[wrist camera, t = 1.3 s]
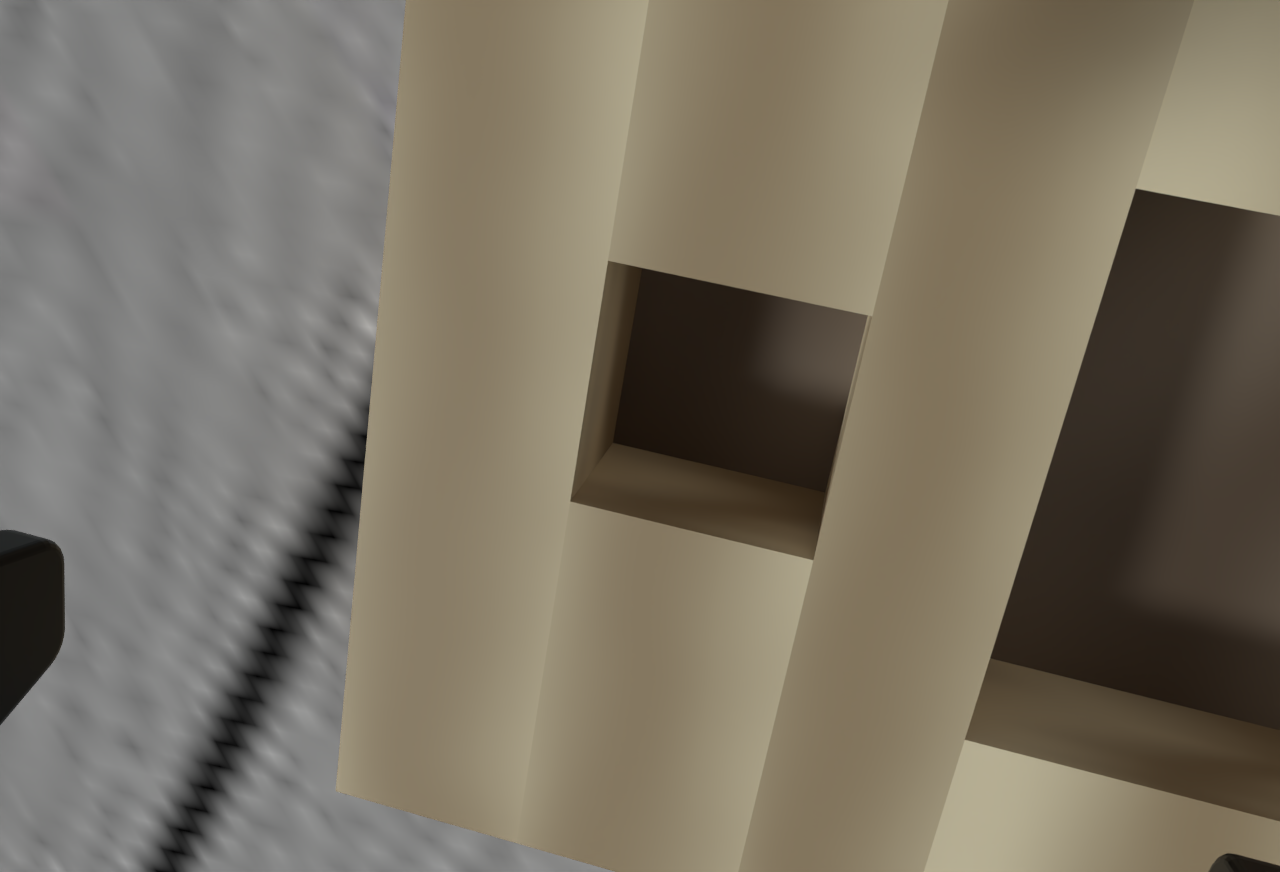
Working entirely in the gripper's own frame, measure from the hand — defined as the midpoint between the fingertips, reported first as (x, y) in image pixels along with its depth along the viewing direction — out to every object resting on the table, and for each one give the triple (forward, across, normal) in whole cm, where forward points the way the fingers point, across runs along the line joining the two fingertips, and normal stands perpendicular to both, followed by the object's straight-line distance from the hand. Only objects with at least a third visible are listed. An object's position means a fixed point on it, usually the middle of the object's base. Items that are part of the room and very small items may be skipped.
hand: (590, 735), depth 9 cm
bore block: (+11, -5, 0) cm, 12 cm away
